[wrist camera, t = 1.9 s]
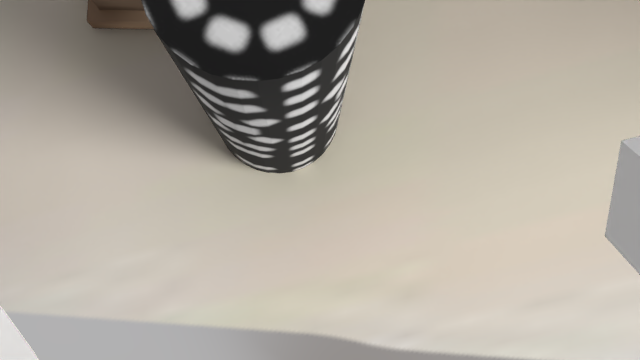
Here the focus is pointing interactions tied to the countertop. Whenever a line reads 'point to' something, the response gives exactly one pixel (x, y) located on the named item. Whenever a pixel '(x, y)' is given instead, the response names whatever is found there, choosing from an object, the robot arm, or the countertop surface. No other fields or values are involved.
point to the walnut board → (117, 14)
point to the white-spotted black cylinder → (264, 70)
